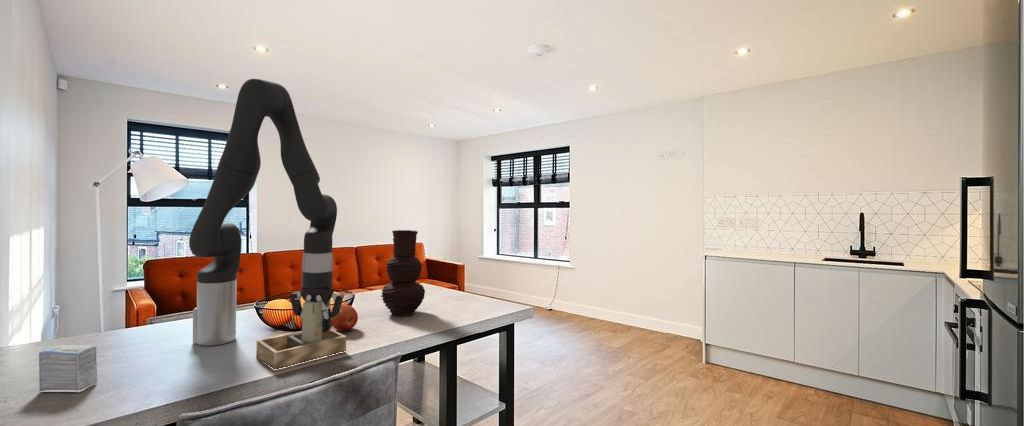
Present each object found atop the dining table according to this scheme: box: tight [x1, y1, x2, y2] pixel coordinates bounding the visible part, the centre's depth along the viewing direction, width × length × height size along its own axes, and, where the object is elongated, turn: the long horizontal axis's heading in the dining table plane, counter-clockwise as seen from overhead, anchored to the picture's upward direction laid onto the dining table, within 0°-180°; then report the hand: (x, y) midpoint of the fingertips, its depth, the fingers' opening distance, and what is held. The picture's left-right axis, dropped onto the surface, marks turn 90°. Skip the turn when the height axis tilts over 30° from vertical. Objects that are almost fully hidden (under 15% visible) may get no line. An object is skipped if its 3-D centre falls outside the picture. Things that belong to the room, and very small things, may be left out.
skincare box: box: [301, 299, 331, 344], centre depth 117 cm, size 6×4×12 cm
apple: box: [331, 304, 359, 332], centre depth 135 cm, size 8×8×8 cm
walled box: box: [255, 328, 347, 369], centre depth 114 cm, size 18×12×4 cm, turn 139°
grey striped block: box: [38, 344, 98, 392], centre depth 91 cm, size 8×4×9 cm, turn 92°
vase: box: [380, 229, 426, 318], centre depth 156 cm, size 15×15×30 cm
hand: (316, 331), depth 117 cm, fingers closed on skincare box, 4 cm apart
